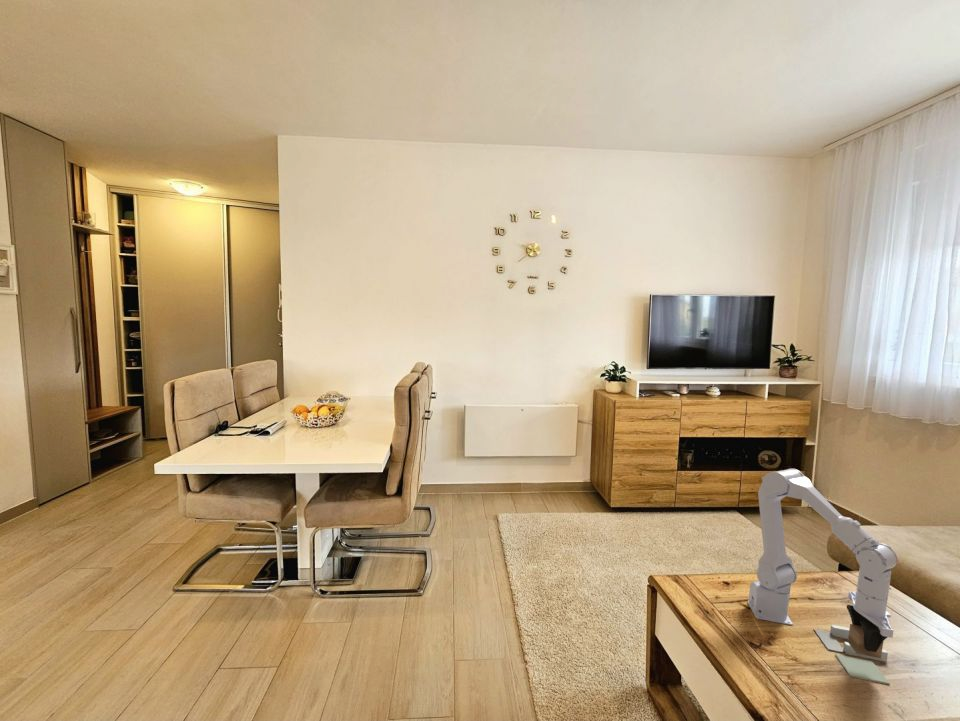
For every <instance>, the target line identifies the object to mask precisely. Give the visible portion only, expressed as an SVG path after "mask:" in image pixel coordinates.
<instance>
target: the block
mask: <svg viewBox="0 0 960 721" xmlns="http://www.w3.org/2000/svg"><path fill="white" fill-rule="evenodd" d="M849 628H850V629H849V637H848V639H847V642H848V643H849V644H850V646H851V647H852V648H853V649H854V651H855V652H856V653H857V654H861V655H866V656H871V657H876V658H881V655H882V649H884V648H883V646H884V641H883V642H882V643H881V645H880V647H879V648H878V650H877V652H871V651H867V650H866V649H865V647H864V632H863V628H862V626H859V625H853V624H851V623H850V624H849Z"/></svg>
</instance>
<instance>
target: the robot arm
mask: <svg viewBox="0 0 960 721" xmlns="http://www.w3.org/2000/svg"><path fill="white" fill-rule="evenodd" d="M757 493H758V494H757V495H758V505H759V507H758V508H759V515H760V524H761V525H760V526H761V535H762V546H763V553H762V555H761V556H760V558H759V559H758V567H757V570H756V578H757V581H751V582H750V584H749V594H748V600H747V605H748V606H749V608H750V610H751V612H752V614H753V615H754V617H755V619H757V620H763V621H768V622H773V623H778V624H784V625H788V626H793V625H794V623H793V622H792V620H791V618H790V617H789V614H788V613H789V604H790V594H791V588H792V587H791V586H792V584H794V583H795V582H796V581H797V578H798V575H797V571H796V569H795V567H794V565H793V559H792V558H790V556H789V555H788V554H787V552H786V543H785V542H786V541H785V533H784V524H783V523H784V522H783V521H784V520H783V513H782V503H781V500H783V499H784V498H785V497H788V498H792V499H798V500H802V501H804V502H805V503H807V505H808V506H810V507H811V508H812V509H813V510H814V511H815V512H816V513H818V514H819V515H820V516H821V517H822V518H823V519H824V520H826V521H827V522H828V523H829V524H830V528H831V529H830V530H831V532H832V533H833V534H834V535H835V536H836V537H837V538H838V539H839V540H840V541H841V542H843V543H844V544H845V545H846V546H847V548H848V549H850V550H851V551H852V552H853V553H854V554H855V560H856V562H857V563H858V565H859V571H858V577H857V583H856V585H857V586H856V591H850V590H849V591H848V595H847V598H848V600H850V601H851V602H852V605H851V604H847V605H846V609H847V611H848V613H849V616H850V620H851V623H852V624H853V625H859V626H862V628H863V632H864V647H865V649H866V650H867V651H871V652H877V650H878V648H879V647H880V645H881V643H882V642H883V643H884V641H885V640H886V639H888V638H893V637H894V632H895V631H894V629H893V628H892V626H891V625H890V621H889V619H890V618H891V617H892V615H891V613H890V612H889V611H887V608H888V600H889V599H888V598H889V592H890V586H891V585H890V584H891V576H892V569H893V568H894V567H896V565H897V564H898V561H899V559H898V556H897V553H896V552H895V550H893V549H892V547H891V546H890V545H887V544H886V543H882V542H879V540H878V539H877V538H874V537H872V536H871V534H869V533H868V532H867V531H866V530H865V529H864V528H863V527H862V526H861V523H860V522H859V521H858V520H854V519H853V518H851V517H847V516H844V515H842V514H841V513H840V512H839V511H838V510H837V509H836V508H835V507H834V506H833V505H832V504H831V503H830V502H829V501H828V500H827V499H826V498H825V497H824V496H823V495H822V494H821V493H820V492H819V491H818V489H816V487H814V485H813V483H812V481H811V480H810V478H808V477H807V476H805V475H804V473H803V472H801V471H800V470H798V469H796V468H788V469H784V470H783V469H781V470H778V471H770V472H768V473H766V474H765V475H763V476H762V477H761V485H760V486H759V489H758V492H757Z"/></svg>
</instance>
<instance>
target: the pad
mask: <svg viewBox="0 0 960 721" xmlns="http://www.w3.org/2000/svg"><path fill="white" fill-rule="evenodd" d="M834 656H835V657H836V658H837V660H838V661H839V663H840V664H841V666H842V667H843V669H845V671H846V672H847V674H848V675H849V677H851V678H857V679H861V680H864V681H865V680H866V681H869V682H875V683H879V684H880V683H881V684H885V685H887V686H890V682H889V680H888V679H887V678H886V677H885V676H884V675H883V673H882V672H881V671H880V669H879V668H878V666H876V665H875V663H874V662H873V660H867V659H863V658H858V657H852V656H847V655H844V654H843V655H842V654H838V653H835V655H834Z"/></svg>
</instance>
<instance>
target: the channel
mask: <svg viewBox="0 0 960 721" xmlns="http://www.w3.org/2000/svg"><path fill="white" fill-rule="evenodd" d="M849 629H850V627H846V626H841V625H835V624H831V625H830V631H826V630H823V629H816V628H813V631H814V632H815V634H816V635H817V637H818V638H819V639H820V641H821V642H822V644H823V645H824V647H825V648H826V650H827V651H830V652H836V653H840V654H846V655H850V656H855V657H861V658H865V659H869V660H870V659H871V660H874V661H875V660H876V661H879V662H885V663H887V662H888V655H889V653H888V651H887V650H886V649H884V648H882V655H881V658H876V657H871V656H866V655H861V654H857V653H856V652H855V651H854V649H853V648H852V647H851V646H850V644H849V643H848V641H844V642H843V647H842V646H841V645H840V643H839V641H838V640H837V639H836V638H841V639H847V640H848V637H849ZM835 637H836V638H835Z"/></svg>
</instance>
